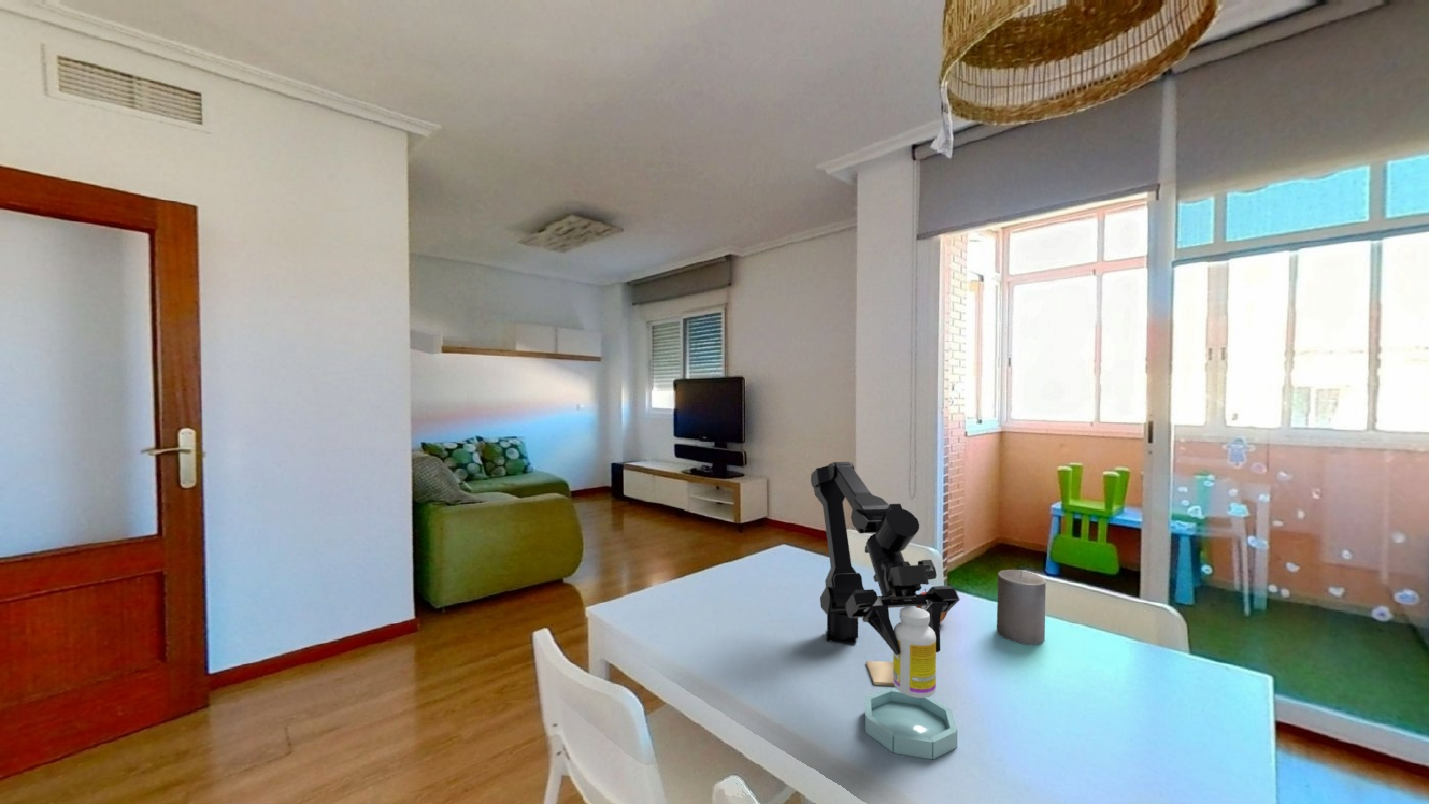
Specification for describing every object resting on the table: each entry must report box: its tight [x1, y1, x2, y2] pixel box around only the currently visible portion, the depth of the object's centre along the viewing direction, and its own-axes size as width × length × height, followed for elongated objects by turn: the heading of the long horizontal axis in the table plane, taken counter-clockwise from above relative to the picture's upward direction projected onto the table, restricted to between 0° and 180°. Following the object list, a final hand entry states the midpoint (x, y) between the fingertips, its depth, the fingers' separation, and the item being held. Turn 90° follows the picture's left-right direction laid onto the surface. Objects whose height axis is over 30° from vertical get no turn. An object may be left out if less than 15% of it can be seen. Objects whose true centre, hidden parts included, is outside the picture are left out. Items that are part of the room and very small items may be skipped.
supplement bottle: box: [892, 606, 937, 698], centre depth 88 cm, size 7×7×13 cm
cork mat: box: [865, 660, 895, 687], centre depth 105 cm, size 10×8×1 cm
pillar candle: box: [996, 569, 1047, 646], centre depth 122 cm, size 10×10×15 cm
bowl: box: [864, 687, 958, 760], centre depth 88 cm, size 14×14×3 cm
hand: (918, 652), depth 87 cm, fingers closed on supplement bottle, 7 cm apart
